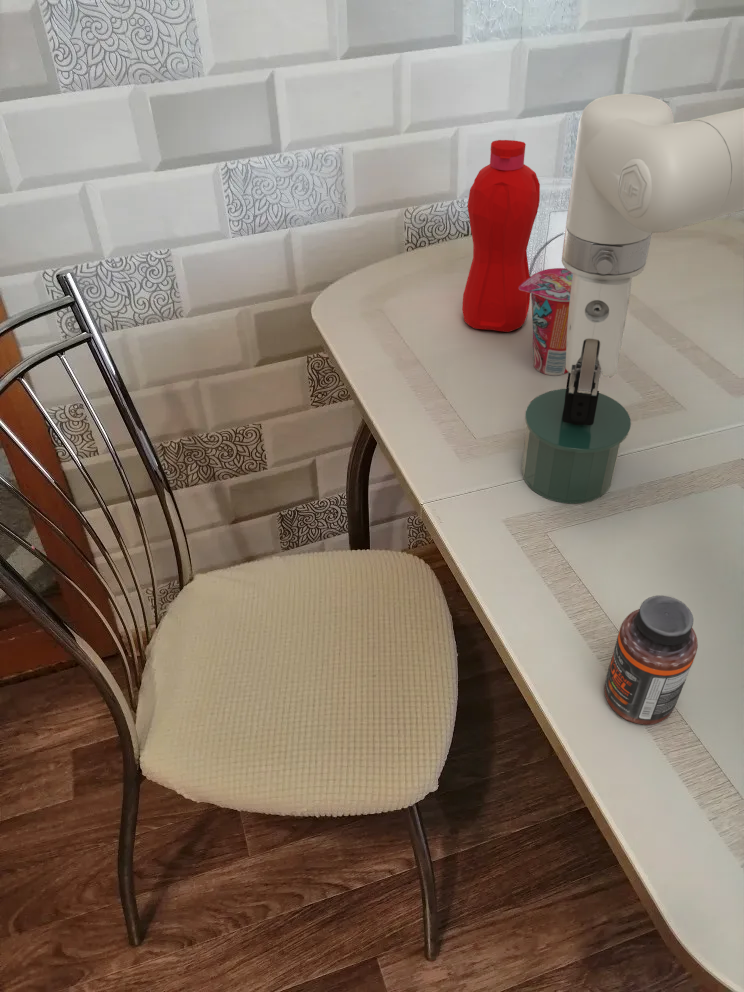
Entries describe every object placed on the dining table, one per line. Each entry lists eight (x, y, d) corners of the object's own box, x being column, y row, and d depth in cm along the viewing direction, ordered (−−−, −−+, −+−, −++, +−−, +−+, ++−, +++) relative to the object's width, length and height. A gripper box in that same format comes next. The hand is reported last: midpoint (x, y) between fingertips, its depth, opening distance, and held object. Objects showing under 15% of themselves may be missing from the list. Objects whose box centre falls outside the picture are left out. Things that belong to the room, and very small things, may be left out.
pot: (601, 445, 94) (612, 393, 89) (620, 502, 87) (633, 448, 82) (516, 447, 94) (522, 395, 89) (528, 504, 87) (535, 451, 82)
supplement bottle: (589, 679, 70) (611, 595, 62) (649, 661, 71) (677, 575, 64) (626, 737, 66) (654, 653, 58) (688, 716, 67) (724, 631, 59)
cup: (553, 341, 111) (564, 261, 103) (597, 368, 106) (612, 286, 98) (502, 363, 108) (509, 281, 100) (545, 392, 102) (556, 308, 94)
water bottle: (532, 300, 120) (551, 126, 104) (522, 337, 112) (541, 156, 96) (471, 294, 122) (480, 123, 106) (458, 330, 115) (465, 151, 98)
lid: (616, 394, 90) (626, 343, 85) (640, 456, 81) (653, 403, 77) (518, 397, 90) (523, 347, 85) (532, 459, 82) (539, 406, 77)
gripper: (649, 292, 66) (612, 464, 78) (648, 214, 77) (616, 374, 90) (556, 285, 67) (535, 455, 79) (569, 209, 79) (549, 367, 91)
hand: (578, 411), depth 84 cm, fingers closed on lid, 2 cm apart
